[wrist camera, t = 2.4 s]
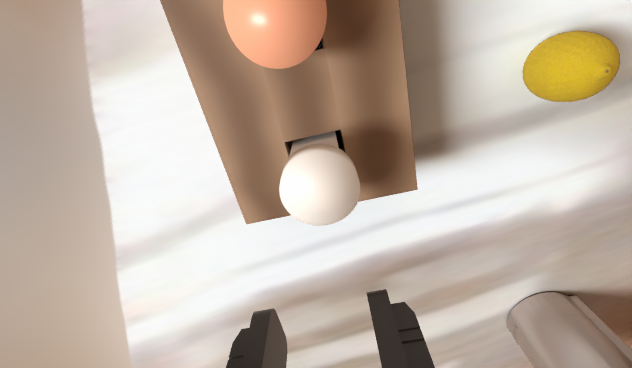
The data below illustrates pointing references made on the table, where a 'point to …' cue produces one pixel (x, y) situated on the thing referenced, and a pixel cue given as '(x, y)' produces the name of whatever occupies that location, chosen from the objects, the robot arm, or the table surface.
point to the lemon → (571, 66)
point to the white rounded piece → (319, 181)
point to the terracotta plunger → (275, 29)
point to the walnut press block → (302, 99)
